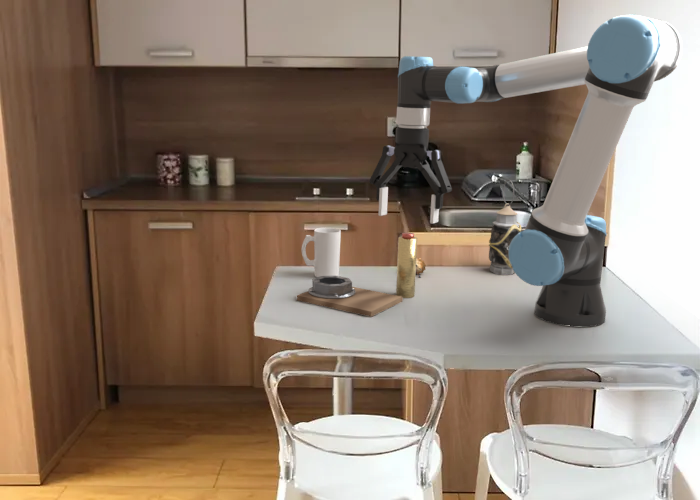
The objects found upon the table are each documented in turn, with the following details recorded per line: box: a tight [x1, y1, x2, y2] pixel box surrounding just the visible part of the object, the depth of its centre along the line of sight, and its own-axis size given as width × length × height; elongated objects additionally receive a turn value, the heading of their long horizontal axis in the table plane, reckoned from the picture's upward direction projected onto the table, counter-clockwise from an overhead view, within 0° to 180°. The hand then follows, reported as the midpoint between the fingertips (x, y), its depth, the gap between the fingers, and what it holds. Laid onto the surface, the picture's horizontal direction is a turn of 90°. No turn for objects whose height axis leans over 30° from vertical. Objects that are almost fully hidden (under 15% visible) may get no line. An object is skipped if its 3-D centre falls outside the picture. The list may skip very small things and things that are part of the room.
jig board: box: [296, 286, 404, 317], centre depth 178 cm, size 20×14×1 cm
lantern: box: [488, 179, 522, 276], centre depth 205 cm, size 9×8×25 cm
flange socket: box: [307, 275, 356, 299], centre depth 180 cm, size 11×11×3 cm
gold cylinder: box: [395, 232, 418, 299], centre depth 182 cm, size 4×4×15 cm
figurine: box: [416, 257, 427, 279], centre depth 201 cm, size 14×5×4 cm, turn 18°
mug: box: [301, 227, 342, 278], centre depth 197 cm, size 10×7×12 cm, turn 104°
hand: (407, 218), depth 179 cm, fingers open, 13 cm apart
